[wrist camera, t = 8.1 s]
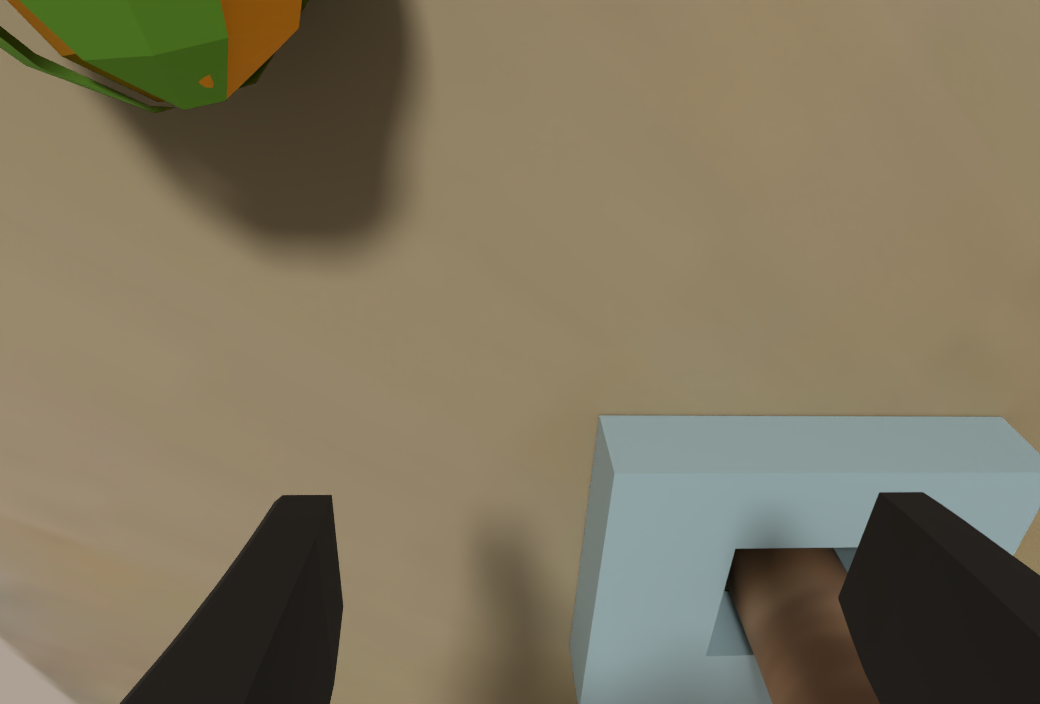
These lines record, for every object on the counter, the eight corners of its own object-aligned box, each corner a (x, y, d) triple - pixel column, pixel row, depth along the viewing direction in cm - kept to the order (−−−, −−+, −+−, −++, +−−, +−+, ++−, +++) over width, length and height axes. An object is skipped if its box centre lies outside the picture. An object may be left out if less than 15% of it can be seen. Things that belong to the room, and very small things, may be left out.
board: (1001, 416, 22) (1058, 472, 20) (896, 639, 27) (933, 702, 25) (599, 415, 21) (614, 473, 19) (569, 646, 26) (578, 712, 24)
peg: (803, 485, 23) (922, 690, 17) (830, 553, 25) (947, 762, 19) (700, 525, 24) (779, 737, 18) (733, 590, 25) (816, 803, 19)
